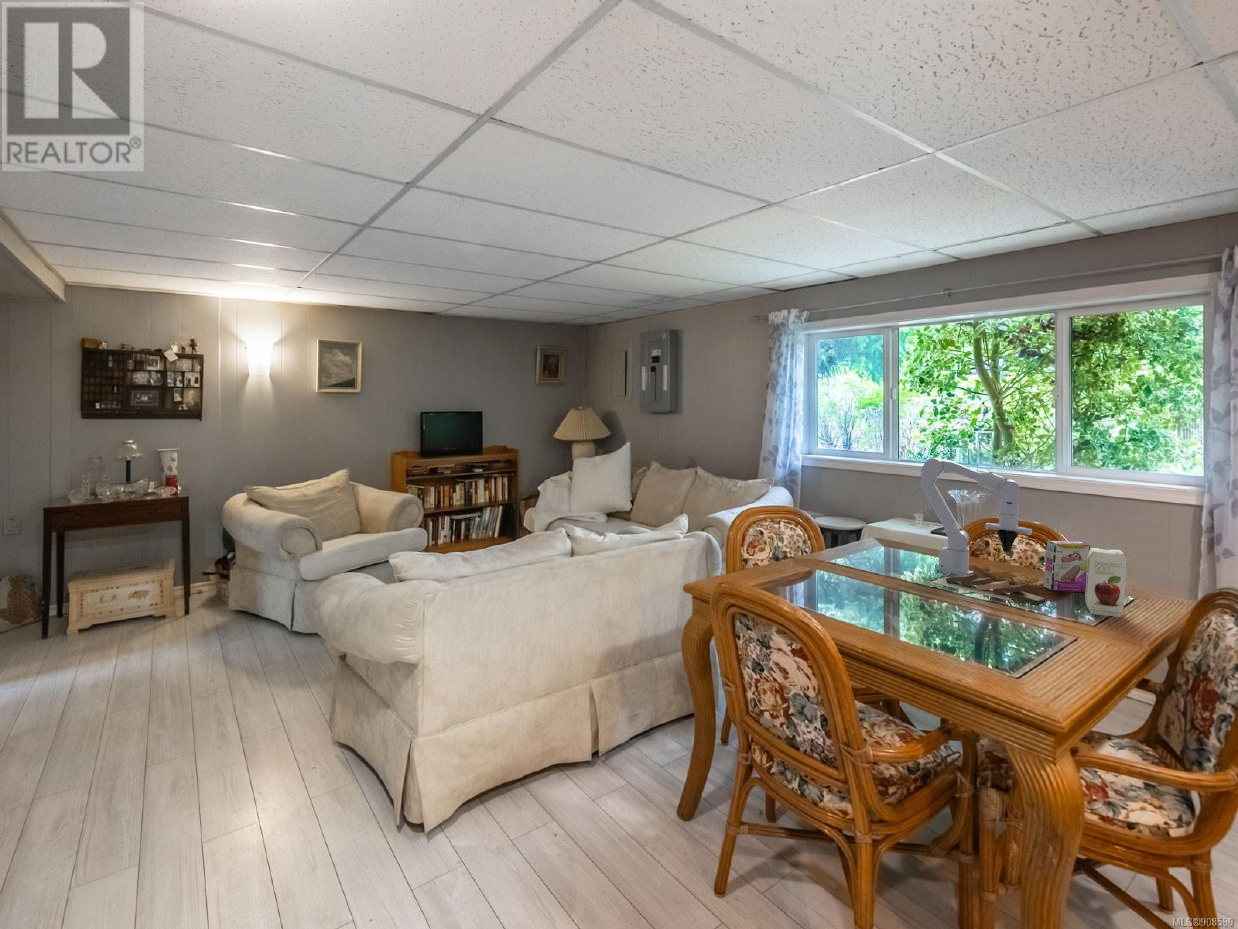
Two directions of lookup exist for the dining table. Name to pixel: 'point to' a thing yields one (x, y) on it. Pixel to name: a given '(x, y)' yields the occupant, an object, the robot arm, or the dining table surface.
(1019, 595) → the domino
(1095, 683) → the dining table surface
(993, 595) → the board
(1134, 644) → the dining table surface
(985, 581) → the domino
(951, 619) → the dining table surface
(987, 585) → the domino
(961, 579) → the domino
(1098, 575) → the juice carton
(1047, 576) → the candy bar box
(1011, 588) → the domino
